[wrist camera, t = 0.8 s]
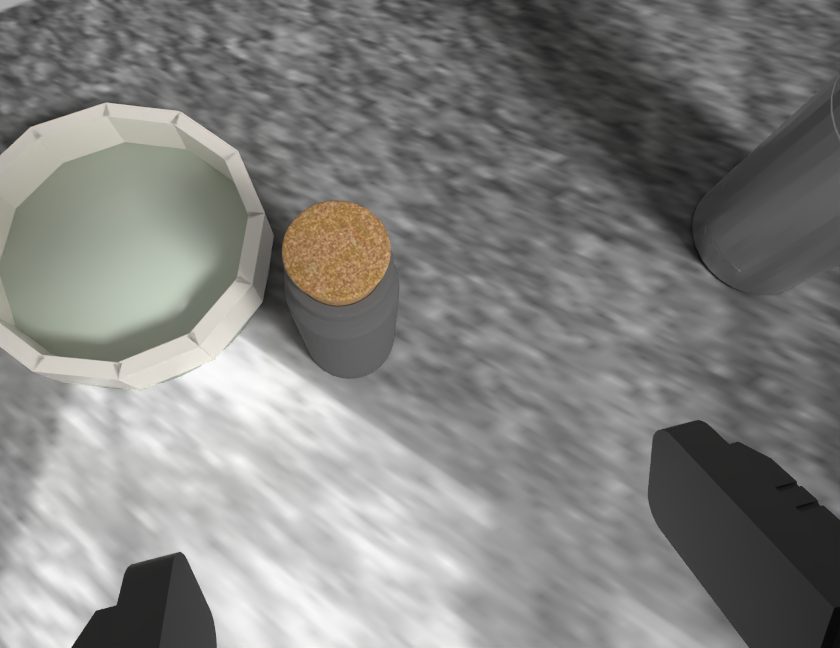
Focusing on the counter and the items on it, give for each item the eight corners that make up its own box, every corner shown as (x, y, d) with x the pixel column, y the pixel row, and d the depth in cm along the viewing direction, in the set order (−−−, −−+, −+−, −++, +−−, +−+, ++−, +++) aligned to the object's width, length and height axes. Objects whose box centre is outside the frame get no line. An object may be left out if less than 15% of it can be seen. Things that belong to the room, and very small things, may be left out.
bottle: (295, 311, 41) (250, 210, 26) (376, 284, 42) (377, 172, 27) (322, 392, 39) (291, 332, 25) (406, 362, 40) (423, 287, 26)
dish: (217, 107, 44) (203, 70, 41) (311, 322, 41) (304, 303, 37) (-36, 193, 41) (-78, 161, 37) (39, 434, 37) (0, 427, 33)
